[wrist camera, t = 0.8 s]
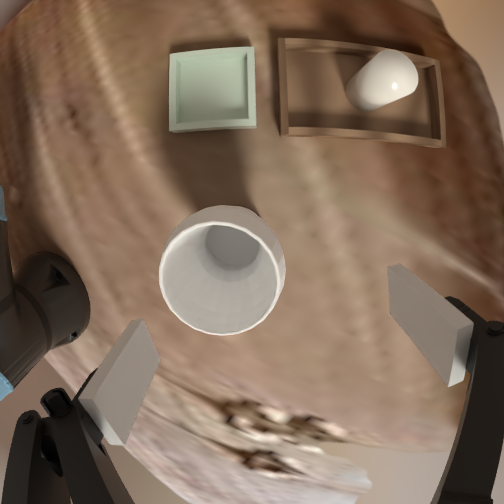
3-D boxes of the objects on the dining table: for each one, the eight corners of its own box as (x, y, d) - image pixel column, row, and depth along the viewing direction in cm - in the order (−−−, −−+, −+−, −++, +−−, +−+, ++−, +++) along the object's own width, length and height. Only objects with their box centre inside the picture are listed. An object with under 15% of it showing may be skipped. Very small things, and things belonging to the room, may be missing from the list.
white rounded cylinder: (346, 109, 32) (374, 92, 23) (344, 73, 31) (370, 45, 21) (382, 113, 32) (420, 99, 23) (380, 78, 31) (415, 54, 21)
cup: (175, 239, 38) (127, 283, 24) (231, 175, 36) (210, 182, 21) (238, 293, 40) (225, 362, 25) (296, 235, 37) (316, 280, 23)
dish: (175, 133, 34) (169, 131, 32) (175, 60, 32) (170, 53, 29) (256, 128, 34) (256, 125, 32) (254, 53, 31) (254, 46, 29)
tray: (279, 136, 34) (281, 133, 31) (276, 46, 31) (277, 37, 28) (434, 147, 33) (446, 147, 31) (428, 65, 30) (438, 60, 27)
